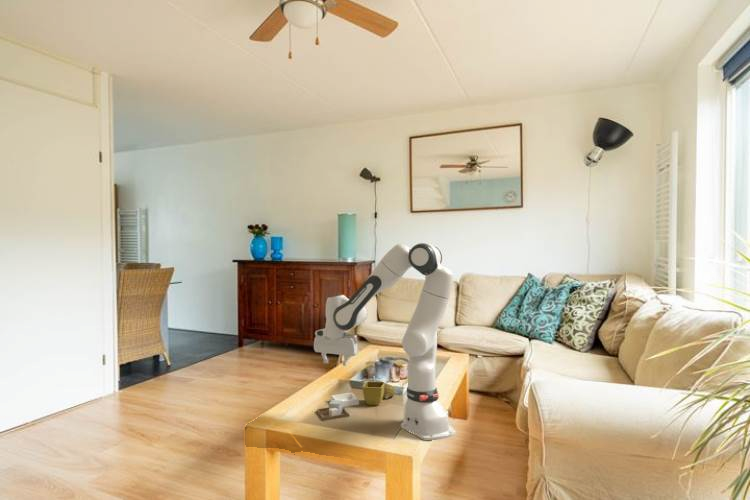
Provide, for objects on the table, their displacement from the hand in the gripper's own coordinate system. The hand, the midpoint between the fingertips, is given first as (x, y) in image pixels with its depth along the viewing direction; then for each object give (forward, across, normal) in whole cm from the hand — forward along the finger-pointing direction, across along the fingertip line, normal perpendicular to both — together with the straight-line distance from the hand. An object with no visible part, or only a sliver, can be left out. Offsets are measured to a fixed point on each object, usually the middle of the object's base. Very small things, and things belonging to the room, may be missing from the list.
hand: (335, 364), depth 173 cm
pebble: (+20, -1, +1) cm, 20 cm away
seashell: (+21, -13, -27) cm, 36 cm away
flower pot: (+21, -11, -16) cm, 29 cm away
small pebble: (+20, -2, +5) cm, 21 cm away
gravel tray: (+21, 0, +2) cm, 21 cm away
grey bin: (+21, +2, -12) cm, 24 cm away
